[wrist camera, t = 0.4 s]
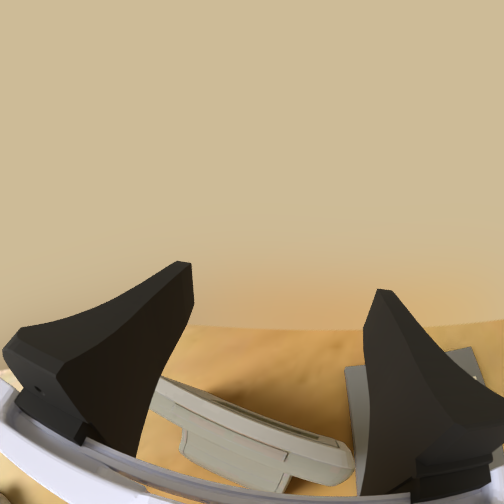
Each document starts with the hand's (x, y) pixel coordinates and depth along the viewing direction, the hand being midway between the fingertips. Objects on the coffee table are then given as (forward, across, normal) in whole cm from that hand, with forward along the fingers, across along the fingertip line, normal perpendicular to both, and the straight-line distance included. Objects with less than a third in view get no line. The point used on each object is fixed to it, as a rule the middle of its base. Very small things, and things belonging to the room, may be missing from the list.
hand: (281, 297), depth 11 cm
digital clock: (+2, 0, +20) cm, 20 cm away
